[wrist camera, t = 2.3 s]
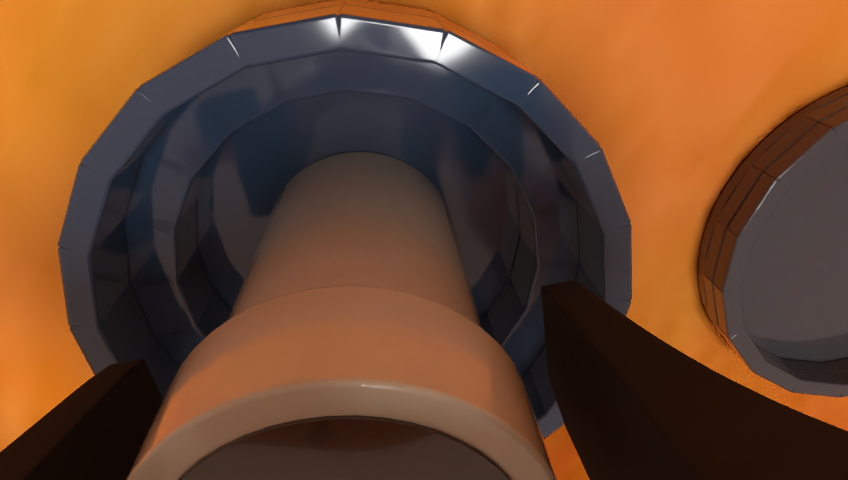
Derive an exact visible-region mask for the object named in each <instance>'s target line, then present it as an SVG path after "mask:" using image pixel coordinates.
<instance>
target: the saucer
mask: <svg viewBox="0 0 848 480" xmlns="http://www.w3.org/2000/svg"><path fill="white" fill-rule="evenodd" d="M698 274H699V287H700V293H701V298H702V301H703V304H704V307H705V310H706V312H707V315H708V316H709V318H710V320H711V321H712V323H713V325H714V327H715V328H716V329H717V330H718V331H719V333H720V334H721V335H722V336H723V337H724V339H725V340H726V341H727V343H728V344H729V346H730V347H731V348H732V350H733V351H734V352H735V353H736V354H737V355H738V357H739V358H740V359H741V360H742V361H743V362H744V363H745V364H746V366H747V367H748V368H749V369H750V370H751V371H752V372H753V373H755V374H757V375H759V376H761V377H763V378H765V379H767V380H769V381H770V382H772V383H774V384H776V385H778V386H780V387H782V388H784V389H786V390H788V391H790V392H793V393H802V394H811V395H821V396H830V397H846V396H848V86H847V87H844V88H842V89H839V90H837V91H835V92H833V93H831V94H829V95H827V96H825V97H823V98H821V99H819V100H817V101H816V102H814V103H812V104H811V105H809V106H808V107H806V108H805V109H803V110H801V111H800V112H798V113H797V114H795V115H794V116H792V117H791V118H790V119H789V120H787V121H786V122H785V123H783V124H782V125H781V126H780V127H778V128H777V129H776V130H774V131H773V132H772V133H771V134H770V135H769V136H768V137H767V138H766V139H765V140H764V141H763V142H762V143H761V144H760V145H758V146H757V147H756V148H755V149H754V151H753V152H752V153H751V154H750V155H749V156H748V158H747V159H746V160H745V161H744V162H743V163H742V164H741V166H740V167H739V168H738V169H737V171H736V172H735V174H734V175H733V177H732V178H731V179H730V181H729V182H728V184H727V185H726V187H725V188H724V190H723V192H722V194H721V195H720V197H719V199H718V201H717V203H716V205H715V206H714V209H713V211H712V213H711V216H710V218H709V221H708V223H707V226H706V229H705V232H704V236H703V240H702V243H701V248H700V256H699V263H698Z"/></svg>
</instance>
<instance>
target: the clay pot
mask: <svg viewBox="0 0 848 480" xmlns="http://www.w3.org/2000/svg"><path fill="white" fill-rule="evenodd" d="M126 480H557V477H556V474H555V471H554V468H553V465H552V462H551V459H550V456H549V453H548V450H547V447H546V445H545V442H544V439H543V436H542V433H541V430H540V427H539V424H538V421H537V418H536V415H535V412H534V410H533V407H532V404H531V401H530V398H529V395H528V392H527V390H526V387H525V384H524V382H523V379H522V377H521V375H520V373H519V371H518V369H517V368H516V366H515V364H514V363H513V361H512V359H511V358H510V357H509V355H508V354H507V353H506V352H505V351H504V349H503V348H502V347H501V346H500V345H499V343H498V342H497V341H495V340H494V339H493V338H492V337H491V336H490V335H489V334H488V333H486V332H485V331H484V330H483V329H482V326H481V323H480V319H479V315H478V312H477V308H476V305H475V301H474V298H473V294H472V291H471V287H470V283H469V280H468V276H467V273H466V269H465V266H464V262H463V258H462V255H461V251H460V248H459V244H458V241H457V237H456V234H455V230H454V226H453V223H452V219H451V216H450V212H449V210H448V207H447V205H446V203H445V201H444V199H443V197H442V195H441V194H440V192H439V191H438V190H437V188H436V187H435V186H434V184H433V183H432V182H431V181H430V180H429V179H428V178H427V177H426V176H425V175H423V174H422V173H421V172H419V171H418V170H417V169H415V168H414V167H412V166H410V165H408V164H406V163H405V162H403V161H400V160H398V159H395V158H393V157H389V156H385V155H382V154H376V153H369V152H351V153H343V154H338V155H334V156H330V157H327V158H324V159H322V160H319V161H317V162H315V163H313V164H311V165H309V166H308V167H306V168H304V169H303V170H302V171H300V172H299V173H298V174H296V175H295V176H294V177H293V178H292V179H291V180H290V181H289V182H288V183H287V184H286V186H285V187H284V188H283V190H282V191H281V192H280V194H279V196H278V198H277V200H276V201H275V203H274V206H273V208H272V211H271V213H270V216H269V218H268V221H267V223H266V226H265V228H264V231H263V233H262V236H261V238H260V241H259V243H258V246H257V248H256V251H255V253H254V256H253V258H252V261H251V263H250V266H249V268H248V271H247V274H246V276H245V279H244V281H243V284H242V286H241V289H240V291H239V294H238V296H237V299H236V301H235V304H234V306H233V309H232V311H231V314H230V316H229V319H228V321H227V322H225V323H224V324H222V325H221V326H220V327H218V328H217V329H215V330H214V331H212V332H211V333H210V334H209V335H208V336H207V337H206V338H205V339H204V340H203V341H202V342H200V343H199V344H198V345H197V346H196V347H195V348H194V349H193V351H192V352H191V353H190V355H189V356H188V357H187V358H186V360H185V361H184V362H183V364H182V365H181V366H180V368H179V370H178V372H177V374H176V376H175V377H174V379H173V381H172V383H171V385H170V387H169V389H168V391H167V393H166V396H165V398H164V400H163V402H162V404H161V406H160V408H159V410H158V413H157V415H156V417H155V419H154V421H153V423H152V425H151V427H150V429H149V432H148V434H147V436H146V438H145V440H144V442H143V444H142V446H141V449H140V451H139V453H138V455H137V457H136V459H135V461H134V463H133V466H132V468H131V470H130V472H129V474H128V476H127V478H126Z"/></svg>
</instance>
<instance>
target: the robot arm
mask: <svg viewBox="0 0 848 480" xmlns="http://www.w3.org/2000/svg"><path fill="white" fill-rule="evenodd" d="M541 297H542V308H543V319H544V331H545V342H546V354H547V365H548V376H549V379H550V382H551V385H552V388H553V391H554V394H555V397H556V401H557V404H558V407H559V410H560V413H561V415H562V418H563V421H564V424H565V427H566V429H567V431H568V433H569V435H570V438H571V440H572V442H573V444H574V446H575V448H576V450H577V453H578V455H579V457H580V459H581V461H582V463H583V466H584V468H585V470H586V472H587V474H588V476H589V478H590V480H848V431H845V430H843V429H840V428H838V427H835V426H833V425H830V424H828V423H825V422H823V421H820V420H818V419H815V418H813V417H810V416H808V415H805V414H803V413H801V412H798V411H796V410H794V409H791V408H789V407H787V406H785V405H782V404H780V403H778V402H776V401H773V400H771V399H769V398H767V397H765V396H763V395H761V394H759V393H757V392H755V391H753V390H751V389H749V388H747V387H744V386H742V385H740V384H738V383H736V382H734V381H732V380H730V379H728V378H726V377H724V376H723V375H721V374H719V373H717V372H715V371H713V370H711V369H709V368H708V367H706V366H704V365H703V364H701V363H699V362H697V361H696V360H694V359H692V358H690V357H689V356H687V355H685V354H683V353H682V352H680V351H678V350H677V349H675V348H673V347H672V346H670V345H668V344H667V343H665V342H664V341H662V340H660V339H659V338H657V337H656V336H654V335H653V334H651V333H650V332H648V331H646V330H645V329H643V328H642V327H640V326H639V325H637V324H636V323H634V322H633V321H631V320H630V319H629V318H627V317H626V316H624V315H623V314H621V313H620V312H619V311H617V310H616V309H614V308H613V307H612V306H610V305H609V304H607V303H606V302H605V301H603V300H602V299H600V298H599V297H598V296H596V295H595V294H594V293H592V292H591V291H589V290H588V289H587V288H585V287H584V286H582V285H581V284H580V283H578V282H577V281H575V280H571V281H566V282H560V283H555V284H549V285H544V286H541ZM163 400H164V399H163V397H162V395H161V393H160V391H159V389H158V387H157V385H156V383H155V381H154V379H153V377H152V374H151V372H150V370H149V368H148V366H147V364H146V362H145V360H144V359H138V360H133V361H127V362H122V363H116V364H111V365H109V366H108V367H106V368H105V369H103V370H102V371H100V372H99V373H98V374H96V375H95V376H93V377H92V378H91V379H90V380H88V381H87V382H86V383H84V384H83V385H82V386H81V387H79V388H78V389H77V390H76V391H74V392H73V393H72V394H71V395H69V396H68V397H67V398H66V399H64V400H63V401H62V402H61V403H60V404H58V405H57V406H56V407H55V408H54V409H52V410H51V411H50V412H49V413H48V414H46V415H45V416H44V417H43V418H41V419H40V420H39V421H38V422H37V423H35V424H34V425H33V426H32V427H31V428H29V429H28V430H27V431H26V432H24V433H23V434H22V435H21V436H20V437H18V438H17V439H16V440H15V441H14V442H12V443H11V444H10V445H9V446H8V447H6V448H5V449H4V450H3V451H1V452H0V480H126V478H127V476H128V474H129V472H130V470H131V468H132V466H133V463H134V461H135V459H136V457H137V455H138V453H139V451H140V449H141V446H142V444H143V442H144V440H145V438H146V436H147V434H148V432H149V429H150V427H151V425H152V423H153V421H154V419H155V417H156V415H157V413H158V410H159V408H160V406H161V404H162V402H163Z"/></svg>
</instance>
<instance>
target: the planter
mask: <svg viewBox="0 0 848 480" xmlns="http://www.w3.org/2000/svg"><path fill="white" fill-rule="evenodd" d="M351 152H369V153H376V154H382V155H385V156H389V157H393V158H395V159H398V160H400V161H403V162H405V163H406V164H408V165H410V166H412V167H414V168H415V169H417V170H418V171H419V172H421V173H422V174H423V175H425V176H426V177H427V178H428V179H429V180H430V181H431V182H432V183H433V184H434V186H435V187H436V188H437V190H438V191H439V192H440V194H441V195H442V197H443V199H444V201H445V203H446V205H447V207H448V210H449V212H450V216H451V219H452V223H453V226H454V230H455V234H456V237H457V241H458V244H459V248H460V251H461V255H462V258H463V262H464V266H465V269H466V273H467V276H468V280H469V283H470V287H471V291H472V294H473V298H474V301H475V305H476V308H477V312H478V315H479V319H480V323H481V326H482V329H483V330H484V331H485V332H486V333H488V334H489V335H490V336H491V337H492V338H493V339H494V340H495V341H497V342H498V343H499V345H500V346H501V347H502V348H503V349H504V351H505V352H506V353H507V354H508V355H509V357H510V358H511V359H512V361H513V363H514V364H515V366H516V368H517V369H518V371H519V373H520V375H521V377H522V379H523V382H524V384H525V387H526V390H527V392H528V395H529V398H530V401H531V404H532V407H533V410H534V412H535V415H536V418H537V421H538V424H539V427H540V430H541V433H542V436H543V439H545V438H546V437H548V436H549V435H550V434H552V433H553V432H554V431H556V430H557V429H558V428H560V427H561V426H562V425H563V423H564V421H563V418H562V415H561V413H560V410H559V407H558V404H557V401H556V397H555V394H554V391H553V388H552V385H551V382H550V379H549V376H548V365H547V354H546V342H545V331H544V319H543V308H542V297H541V286H544V285H549V284H555V283H560V282H566V281H571V280H575V281H577V282H578V283H580V284H581V285H582V286H584V287H585V288H587V289H588V290H589V291H591V292H592V293H594V294H595V295H596V296H598V297H599V298H600V299H602V300H603V301H605V302H606V303H607V304H609V305H610V306H612V307H613V308H614V309H616V310H617V311H619V312H620V313H621V314H623V315H624V316H626V314H627V312H628V309H629V306H630V303H631V299H632V251H631V224H630V219H629V216H628V213H627V211H626V208H625V206H624V203H623V201H622V198H621V196H620V193H619V190H618V188H617V185H616V183H615V180H614V178H613V175H612V172H611V170H610V167H609V165H608V162H607V160H606V157H605V155H604V152H603V149H602V148H601V147H600V146H599V143H598V142H597V141H596V140H595V139H594V138H593V136H592V135H591V134H590V133H589V132H588V131H587V130H586V129H585V128H584V127H583V125H582V124H581V123H580V122H579V121H578V120H577V119H576V118H575V117H574V116H573V114H572V113H571V112H570V111H569V110H568V109H567V108H566V107H565V106H564V105H563V103H562V102H561V101H560V100H559V99H558V98H557V97H556V96H555V95H554V94H553V92H552V91H551V90H550V89H549V88H548V87H547V86H546V85H545V84H544V83H543V81H542V80H541V79H539V78H538V77H537V76H536V75H534V74H533V73H532V72H531V71H529V70H528V69H527V68H526V67H524V66H523V65H522V64H520V63H519V62H518V61H517V60H515V59H514V58H513V57H511V56H510V55H509V54H508V53H506V52H505V51H504V50H502V49H501V48H500V47H498V46H496V45H495V44H493V43H491V42H489V41H487V40H485V39H483V38H481V37H480V36H478V35H476V34H474V33H472V32H470V31H468V30H466V29H464V28H463V27H461V26H459V25H457V24H455V23H453V22H451V21H449V20H447V19H446V18H444V17H442V16H440V15H438V14H436V13H434V12H429V11H428V10H424V9H418V8H411V7H405V6H398V5H392V4H385V3H379V2H372V1H366V0H331V1H326V2H321V3H315V4H310V5H304V6H299V7H294V8H288V9H283V10H278V11H272V12H267V13H266V14H264V15H259V16H258V17H256V18H254V19H252V20H251V21H249V22H247V23H245V24H243V25H242V26H240V27H238V28H236V29H235V30H233V31H231V32H229V33H228V34H226V35H224V36H222V37H221V38H219V39H217V40H216V41H214V42H212V43H211V44H209V45H207V46H205V47H204V48H202V49H200V50H199V51H197V52H195V53H194V54H192V55H190V56H189V57H187V58H185V59H183V60H182V61H180V62H178V63H177V64H175V65H173V66H172V67H170V68H168V69H167V70H165V71H163V72H161V73H160V74H158V75H156V76H155V77H153V78H151V79H150V80H148V81H146V82H145V83H143V84H141V85H140V86H139V88H137V89H136V90H135V91H134V92H133V93H132V95H131V96H130V97H129V99H128V100H127V101H126V102H125V104H124V105H123V106H122V108H121V109H120V110H119V112H118V113H117V114H116V115H115V117H114V118H113V119H112V121H111V122H110V123H109V124H108V126H107V127H106V128H105V130H104V131H103V132H102V134H101V135H100V136H99V137H98V139H97V140H96V141H95V143H94V144H93V145H92V146H91V148H90V149H89V150H88V152H87V153H86V154H85V155H84V157H83V158H82V159H81V163H80V164H79V166H78V170H77V174H76V177H75V181H74V185H73V189H72V192H71V196H70V200H69V204H68V208H67V211H66V215H65V219H64V223H63V227H62V230H61V234H60V238H59V242H58V246H59V248H58V253H59V260H60V268H61V275H62V282H63V289H64V297H65V304H66V311H67V318H68V324H69V326H70V330H71V332H72V334H73V336H74V338H75V340H76V342H77V343H78V345H79V347H80V349H81V351H82V353H83V354H84V356H85V358H86V360H87V362H88V364H89V366H90V367H91V369H92V371H93V373H94V375H96V374H98V373H99V372H100V371H102V370H103V369H105V368H106V367H108V366H109V365H111V364H116V363H122V362H127V361H133V360H138V359H144V360H145V362H146V364H147V366H148V368H149V370H150V372H151V374H152V377H153V379H154V381H155V383H156V385H157V387H158V389H159V391H160V393H161V395H162V397H163V399H164V398H165V396H166V393H167V391H168V389H169V387H170V385H171V383H172V381H173V379H174V377H175V376H176V374H177V372H178V370H179V368H180V366H181V365H182V364H183V362H184V361H185V360H186V358H187V357H188V356H189V355H190V353H191V352H192V351H193V349H194V348H195V347H196V346H197V345H198V344H199V343H200V342H202V341H203V340H204V339H205V338H206V337H207V336H208V335H209V334H210V333H211V332H212V331H214V330H215V329H217V328H218V327H220V326H221V325H222V324H224V323H225V322H227V321H228V319H229V316H230V314H231V311H232V309H233V306H234V304H235V301H236V299H237V296H238V294H239V291H240V289H241V286H242V284H243V281H244V279H245V276H246V274H247V271H248V268H249V266H250V263H251V261H252V258H253V256H254V253H255V251H256V248H257V246H258V243H259V241H260V238H261V236H262V233H263V231H264V228H265V226H266V223H267V221H268V218H269V216H270V213H271V211H272V208H273V206H274V203H275V201H276V200H277V198H278V196H279V194H280V192H281V191H282V190H283V188H284V187H285V186H286V184H287V183H288V182H289V181H290V180H291V179H292V178H293V177H294V176H295V175H296V174H298V173H299V172H300V171H302V170H303V169H304V168H306V167H308V166H309V165H311V164H313V163H315V162H317V161H319V160H322V159H324V158H327V157H330V156H334V155H338V154H343V153H351Z"/></svg>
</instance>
